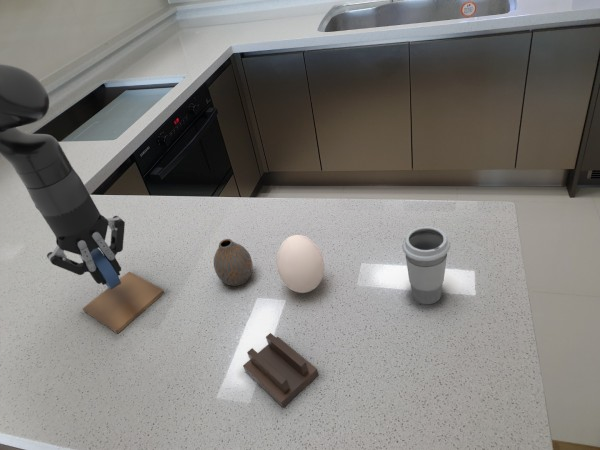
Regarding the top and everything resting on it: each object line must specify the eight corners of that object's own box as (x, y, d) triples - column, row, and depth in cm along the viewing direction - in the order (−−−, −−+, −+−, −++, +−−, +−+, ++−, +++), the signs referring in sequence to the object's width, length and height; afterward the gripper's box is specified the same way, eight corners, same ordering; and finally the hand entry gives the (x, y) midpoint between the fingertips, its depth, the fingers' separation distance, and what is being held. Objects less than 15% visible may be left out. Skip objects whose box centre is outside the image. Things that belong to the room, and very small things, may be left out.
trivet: (117, 334, 80) (115, 331, 80) (84, 311, 87) (82, 308, 86) (164, 292, 87) (163, 289, 86) (130, 274, 93) (129, 271, 92)
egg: (337, 283, 81) (328, 234, 74) (305, 311, 77) (292, 262, 70) (306, 265, 86) (295, 217, 79) (274, 290, 82) (260, 242, 75)
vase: (214, 289, 85) (199, 254, 80) (229, 263, 90) (216, 229, 85) (247, 293, 83) (234, 258, 77) (261, 267, 88) (250, 231, 82)
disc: (111, 292, 86) (110, 285, 79) (86, 258, 86) (83, 247, 79) (121, 286, 87) (121, 278, 79) (96, 252, 87) (94, 241, 80)
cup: (419, 316, 72) (418, 260, 65) (396, 289, 77) (393, 235, 70) (457, 298, 74) (460, 241, 66) (432, 273, 79) (433, 218, 71)
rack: (283, 408, 64) (277, 392, 61) (245, 371, 70) (238, 355, 67) (318, 374, 67) (314, 358, 65) (279, 342, 73) (274, 326, 71)
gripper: (26, 232, 67) (81, 311, 77) (113, 186, 73) (153, 265, 83) (12, 214, 71) (66, 290, 82) (95, 172, 78) (135, 248, 88)
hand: (110, 277), depth 83 cm, fingers closed on disc, 2 cm apart
